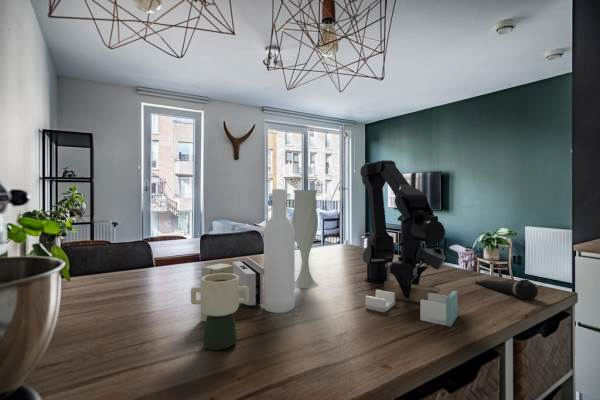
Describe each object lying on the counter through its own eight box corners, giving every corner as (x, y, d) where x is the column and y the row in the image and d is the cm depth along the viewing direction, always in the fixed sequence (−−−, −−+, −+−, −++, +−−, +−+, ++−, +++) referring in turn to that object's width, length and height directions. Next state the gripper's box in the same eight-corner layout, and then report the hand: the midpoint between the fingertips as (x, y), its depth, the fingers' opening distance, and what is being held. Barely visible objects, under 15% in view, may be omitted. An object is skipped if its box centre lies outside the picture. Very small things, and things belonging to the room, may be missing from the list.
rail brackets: (365, 308, 85) (365, 284, 85) (376, 300, 91) (377, 278, 91) (450, 326, 73) (451, 299, 73) (457, 316, 80) (457, 291, 79)
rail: (384, 296, 95) (384, 282, 95) (388, 293, 98) (388, 280, 98) (436, 306, 88) (436, 290, 87) (439, 302, 90) (439, 287, 90)
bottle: (296, 303, 89) (296, 189, 88) (293, 313, 81) (293, 188, 80) (266, 302, 89) (266, 189, 89) (260, 312, 81) (260, 188, 81)
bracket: (232, 292, 99) (232, 258, 99) (248, 290, 101) (248, 257, 101) (246, 310, 84) (246, 270, 84) (264, 307, 86) (264, 268, 85)
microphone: (472, 294, 108) (532, 305, 90) (466, 277, 108) (524, 285, 90) (484, 287, 110) (545, 297, 91) (478, 270, 110) (538, 277, 91)
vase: (286, 286, 105) (287, 190, 104) (297, 280, 113) (297, 190, 112) (313, 289, 102) (313, 190, 101) (322, 282, 109) (322, 190, 109)
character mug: (250, 336, 68) (250, 272, 68) (247, 353, 61) (247, 281, 61) (195, 338, 67) (195, 273, 67) (185, 355, 60) (185, 282, 60)
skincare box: (213, 325, 74) (213, 269, 74) (200, 321, 76) (199, 267, 76) (234, 316, 79) (234, 264, 79) (220, 312, 82) (220, 262, 81)
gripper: (433, 245, 80) (433, 310, 81) (450, 237, 96) (449, 291, 96) (388, 241, 87) (388, 301, 87) (410, 234, 102) (410, 285, 102)
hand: (411, 294), depth 93 cm, fingers open, 7 cm apart
